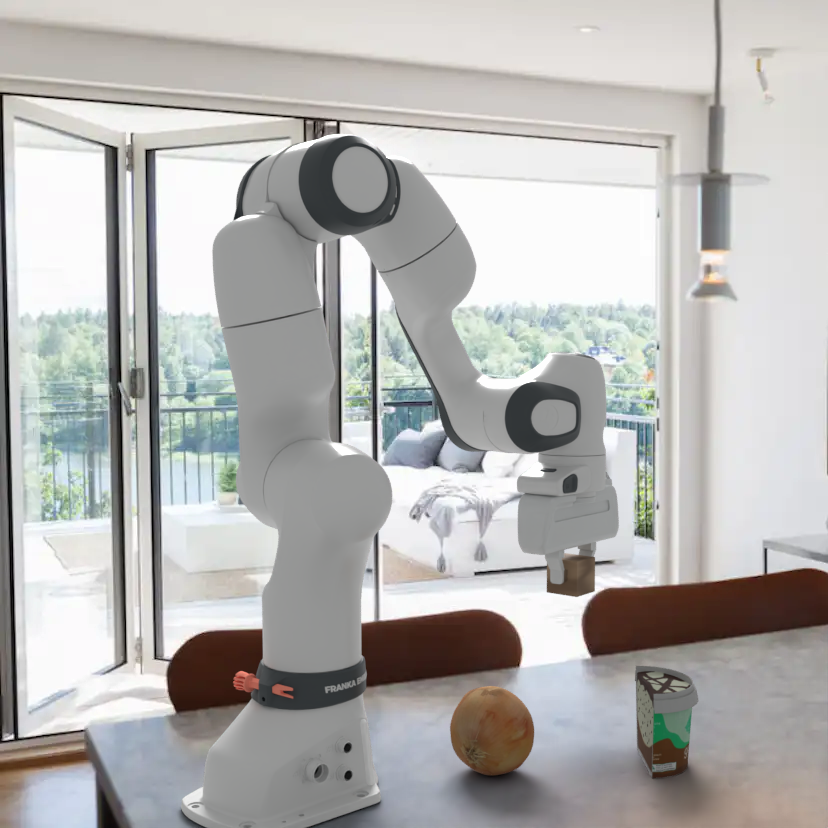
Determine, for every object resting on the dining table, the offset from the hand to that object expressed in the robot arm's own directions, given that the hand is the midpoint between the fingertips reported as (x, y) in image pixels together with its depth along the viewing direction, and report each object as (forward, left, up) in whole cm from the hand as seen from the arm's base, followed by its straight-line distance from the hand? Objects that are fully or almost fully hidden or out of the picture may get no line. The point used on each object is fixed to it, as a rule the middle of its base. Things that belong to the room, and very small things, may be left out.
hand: (570, 579), depth 145 cm
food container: (-8, -18, -19) cm, 27 cm away
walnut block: (0, 0, -2) cm, 2 cm away
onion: (-23, -3, -18) cm, 29 cm away
